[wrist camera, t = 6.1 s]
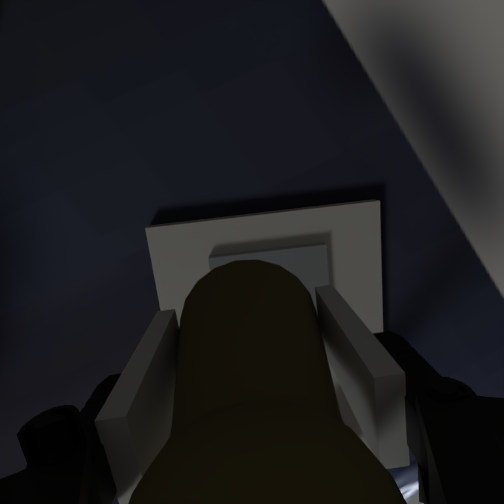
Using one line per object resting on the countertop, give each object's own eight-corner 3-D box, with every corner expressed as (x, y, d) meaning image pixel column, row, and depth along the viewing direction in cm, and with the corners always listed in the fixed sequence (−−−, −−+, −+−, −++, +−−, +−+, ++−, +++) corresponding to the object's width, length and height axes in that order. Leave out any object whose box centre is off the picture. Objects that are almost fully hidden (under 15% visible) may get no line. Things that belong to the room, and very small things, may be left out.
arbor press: (194, 465, 36) (180, 552, 28) (149, 225, 30) (115, 245, 22) (380, 442, 36) (421, 522, 28) (373, 199, 30) (423, 210, 22)
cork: (277, 233, 14) (404, 425, 3) (339, 348, 15) (571, 747, 5) (153, 301, 15) (-82, 660, 4) (223, 407, 16) (195, 894, 5)
